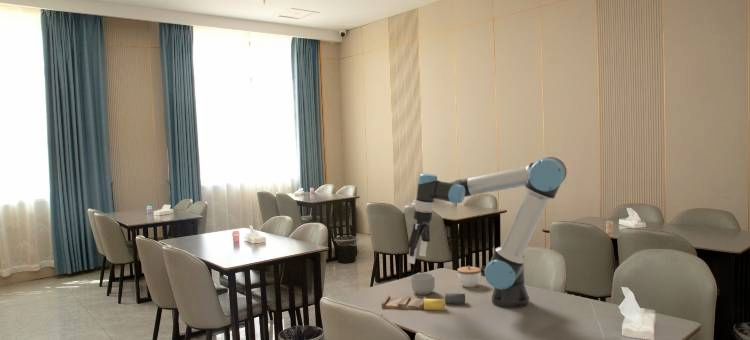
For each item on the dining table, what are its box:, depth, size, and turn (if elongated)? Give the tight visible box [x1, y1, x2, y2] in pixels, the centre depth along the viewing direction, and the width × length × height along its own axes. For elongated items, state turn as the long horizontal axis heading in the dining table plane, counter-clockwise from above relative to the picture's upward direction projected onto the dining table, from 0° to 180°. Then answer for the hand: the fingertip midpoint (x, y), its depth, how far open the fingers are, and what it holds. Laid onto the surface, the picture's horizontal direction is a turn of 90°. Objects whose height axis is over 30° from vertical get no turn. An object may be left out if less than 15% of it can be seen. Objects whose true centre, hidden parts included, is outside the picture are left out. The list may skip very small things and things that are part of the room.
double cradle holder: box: [381, 295, 427, 311], centre depth 224 cm, size 17×11×2 cm, turn 75°
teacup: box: [410, 272, 436, 296], centre depth 241 cm, size 14×11×8 cm
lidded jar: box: [457, 265, 482, 288], centre depth 249 cm, size 11×11×9 cm
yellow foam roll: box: [423, 298, 446, 311], centre depth 216 cm, size 8×4×4 cm, turn 75°
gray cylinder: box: [444, 292, 466, 305], centre depth 223 cm, size 8×4×4 cm, turn 75°
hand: (416, 259), depth 223 cm, fingers open, 13 cm apart
